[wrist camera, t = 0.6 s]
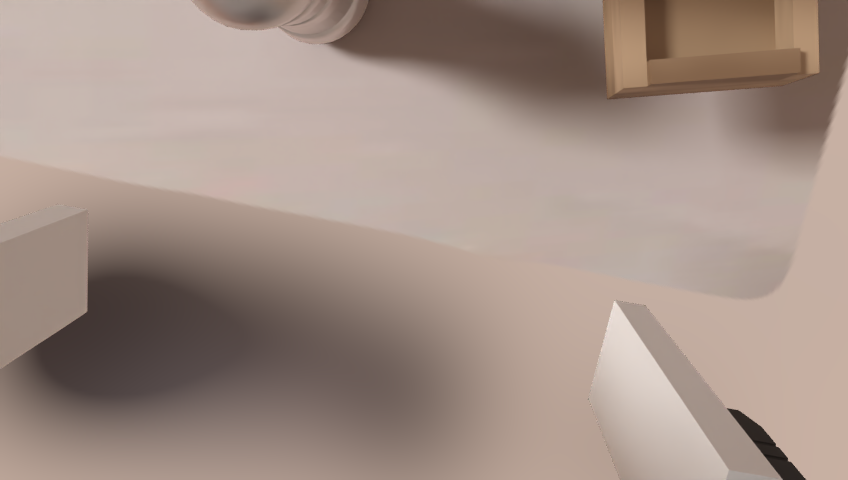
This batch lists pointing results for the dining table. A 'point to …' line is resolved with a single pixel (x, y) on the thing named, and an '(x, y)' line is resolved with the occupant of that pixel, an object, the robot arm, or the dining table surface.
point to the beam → (707, 45)
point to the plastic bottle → (289, 16)
